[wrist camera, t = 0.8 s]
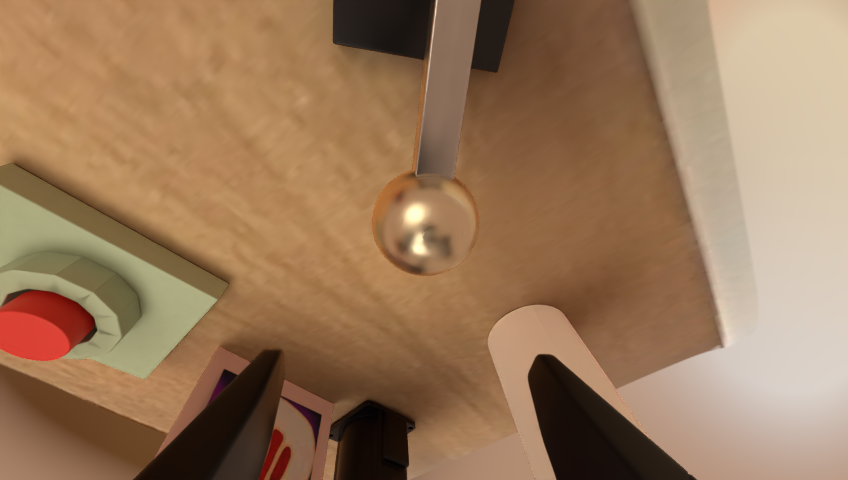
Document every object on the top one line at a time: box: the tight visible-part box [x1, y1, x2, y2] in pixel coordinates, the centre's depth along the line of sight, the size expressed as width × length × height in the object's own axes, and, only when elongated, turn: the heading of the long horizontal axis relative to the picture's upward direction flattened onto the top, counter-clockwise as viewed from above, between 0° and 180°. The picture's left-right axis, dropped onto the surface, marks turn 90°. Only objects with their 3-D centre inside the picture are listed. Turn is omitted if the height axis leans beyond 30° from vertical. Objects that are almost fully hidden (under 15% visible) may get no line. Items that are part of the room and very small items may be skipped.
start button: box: [0, 290, 95, 361], centre depth 17 cm, size 4×4×2 cm
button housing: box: [0, 163, 229, 379], centre depth 19 cm, size 10×12×4 cm
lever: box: [372, 0, 481, 276], centre depth 8 cm, size 13×3×3 cm, turn 171°
